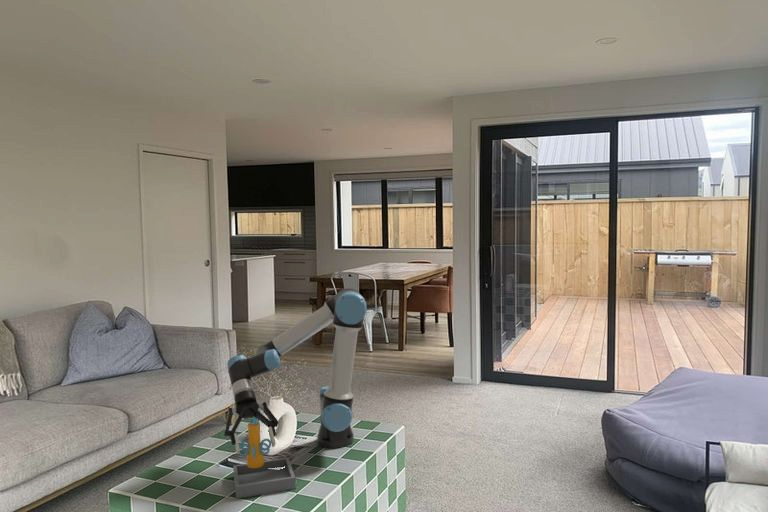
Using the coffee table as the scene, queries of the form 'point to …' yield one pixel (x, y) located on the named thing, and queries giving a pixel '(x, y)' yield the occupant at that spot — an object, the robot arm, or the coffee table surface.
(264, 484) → the tray
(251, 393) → the robot arm
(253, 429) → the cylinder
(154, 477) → the coffee table surface
